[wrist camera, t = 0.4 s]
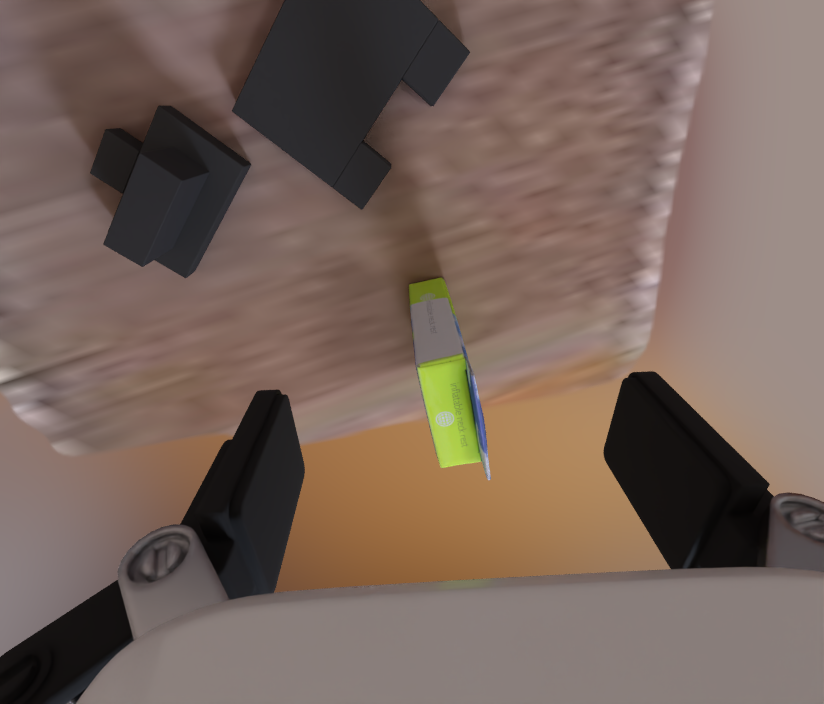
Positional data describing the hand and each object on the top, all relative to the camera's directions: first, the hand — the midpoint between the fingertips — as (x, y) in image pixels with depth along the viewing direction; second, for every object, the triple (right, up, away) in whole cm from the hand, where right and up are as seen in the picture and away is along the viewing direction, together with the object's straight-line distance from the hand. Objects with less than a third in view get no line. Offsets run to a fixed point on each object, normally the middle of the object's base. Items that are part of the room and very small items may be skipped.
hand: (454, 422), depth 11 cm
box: (+1, +5, +32) cm, 32 cm away
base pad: (-6, +23, +20) cm, 31 cm away
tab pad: (-22, +16, +24) cm, 37 cm away
